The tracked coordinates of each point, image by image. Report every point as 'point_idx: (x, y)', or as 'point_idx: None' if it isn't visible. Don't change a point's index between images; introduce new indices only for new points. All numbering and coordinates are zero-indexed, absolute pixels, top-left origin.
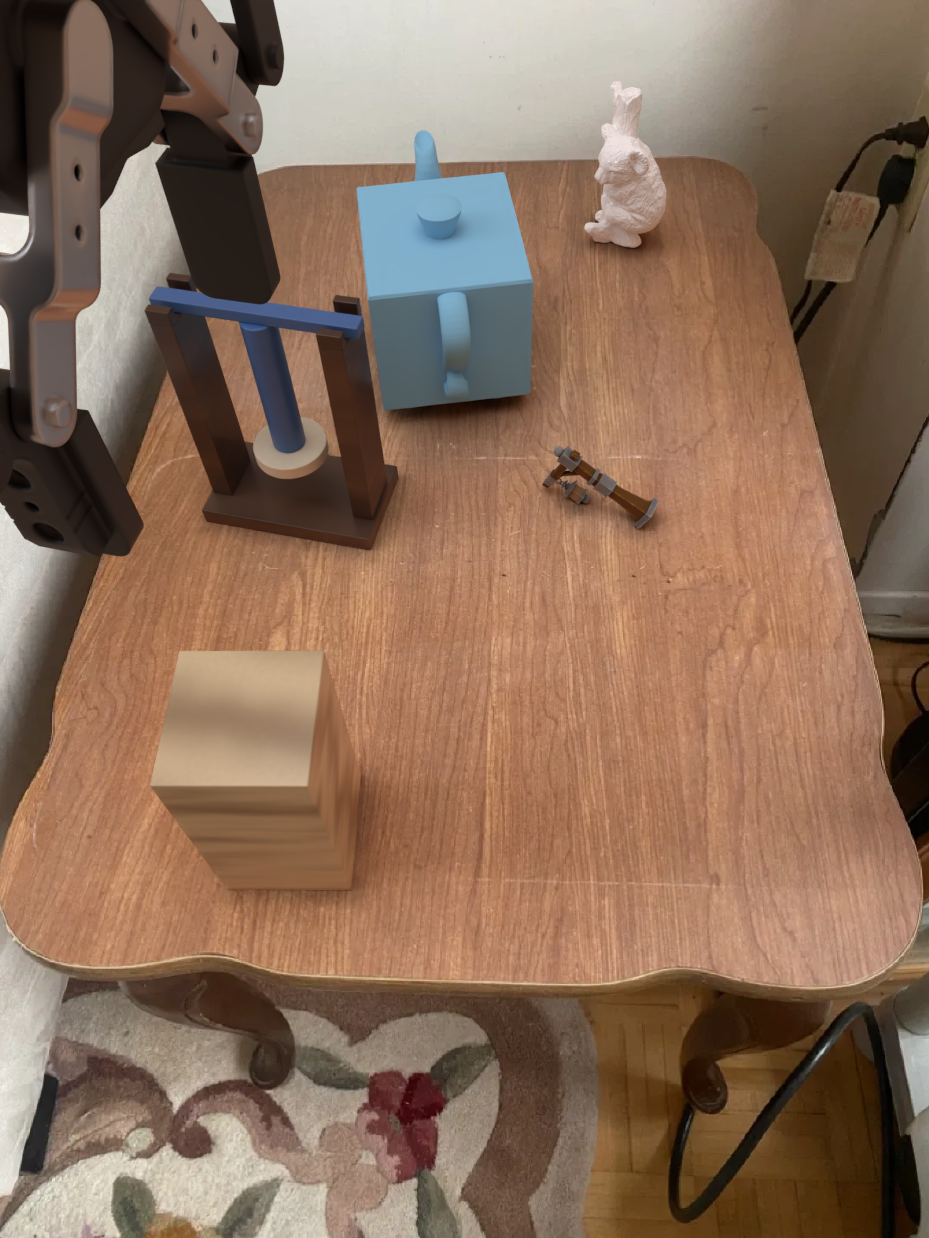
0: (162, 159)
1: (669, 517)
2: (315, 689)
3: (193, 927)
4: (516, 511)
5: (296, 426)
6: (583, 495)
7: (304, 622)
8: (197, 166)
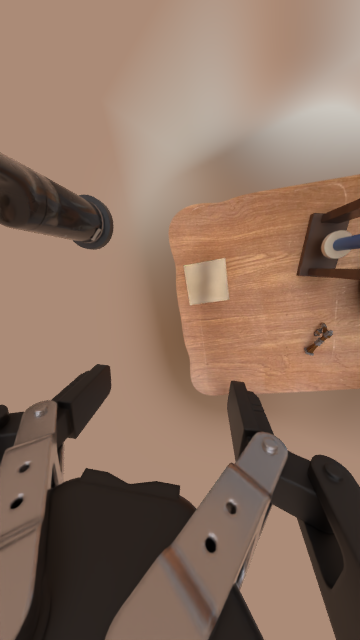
0: (248, 431)
1: (308, 355)
2: (216, 300)
3: (180, 260)
4: (312, 315)
5: (342, 249)
6: (316, 334)
7: (268, 262)
8: (242, 447)
